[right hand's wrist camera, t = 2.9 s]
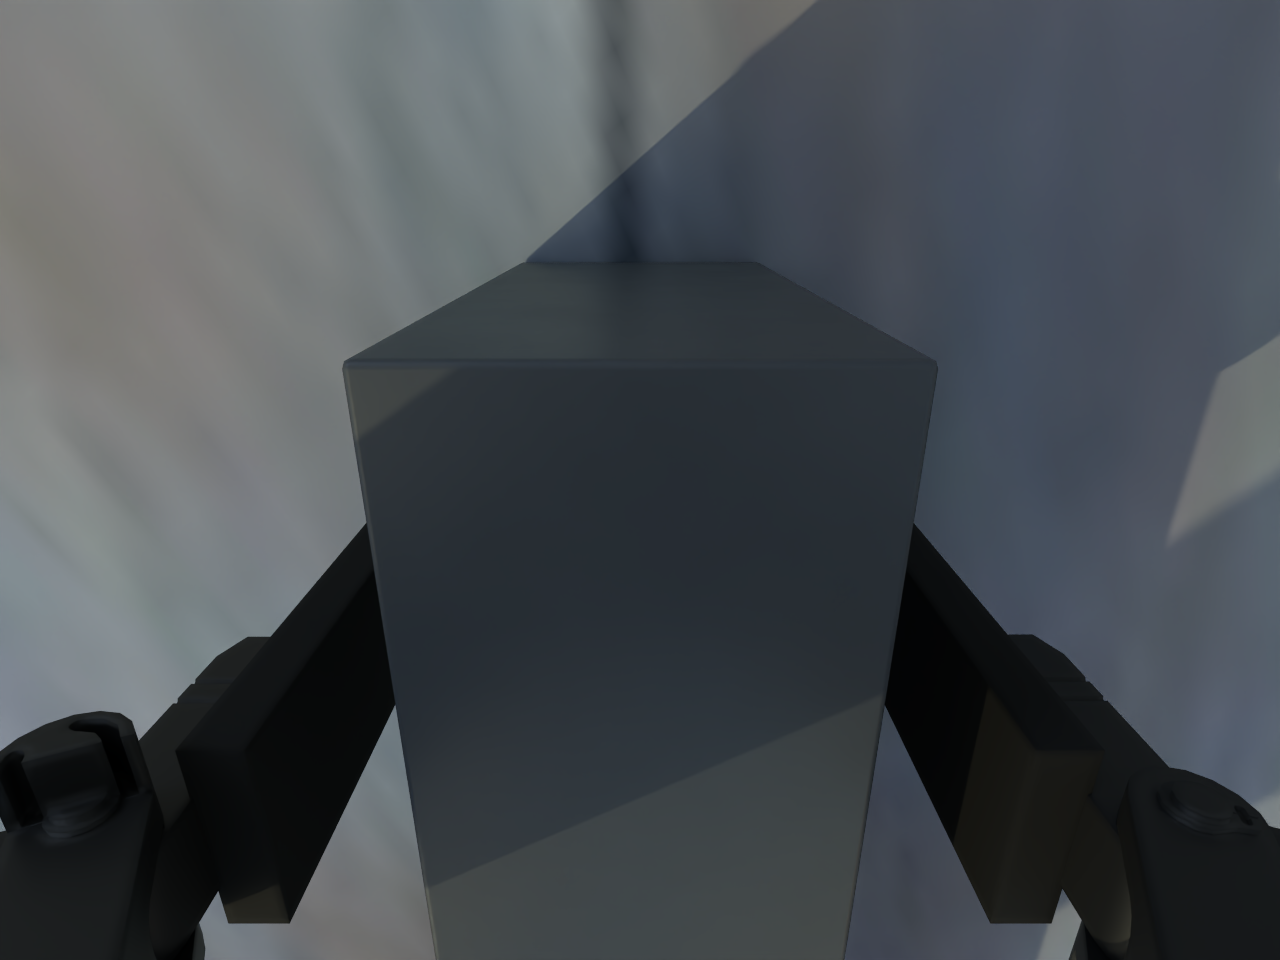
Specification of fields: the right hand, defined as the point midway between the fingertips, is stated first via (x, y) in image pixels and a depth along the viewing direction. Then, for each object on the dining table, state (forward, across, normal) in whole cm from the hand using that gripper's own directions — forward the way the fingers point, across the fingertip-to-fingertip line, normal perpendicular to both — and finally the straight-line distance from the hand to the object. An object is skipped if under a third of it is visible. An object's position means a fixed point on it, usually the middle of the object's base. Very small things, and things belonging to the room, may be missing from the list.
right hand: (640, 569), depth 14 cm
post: (+1, 0, -36) cm, 36 cm away
